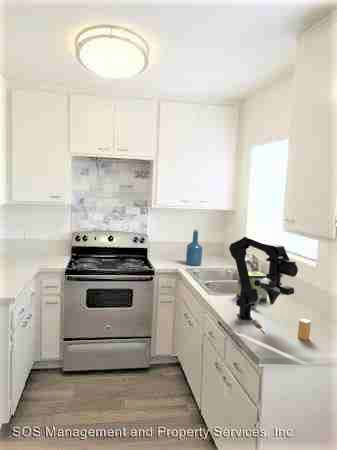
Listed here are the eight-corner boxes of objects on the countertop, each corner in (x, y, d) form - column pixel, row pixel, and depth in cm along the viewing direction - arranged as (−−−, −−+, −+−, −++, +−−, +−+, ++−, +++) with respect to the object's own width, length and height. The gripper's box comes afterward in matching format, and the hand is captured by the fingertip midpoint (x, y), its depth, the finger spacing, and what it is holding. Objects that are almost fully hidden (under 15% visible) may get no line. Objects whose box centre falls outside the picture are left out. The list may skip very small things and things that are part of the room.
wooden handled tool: (251, 324, 177) (252, 319, 176) (256, 324, 177) (257, 319, 177) (261, 336, 163) (262, 331, 162) (266, 336, 163) (267, 331, 163)
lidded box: (297, 337, 161) (298, 319, 160) (301, 335, 163) (303, 318, 162) (304, 340, 158) (306, 322, 157) (309, 338, 160) (311, 321, 159)
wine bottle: (204, 265, 310) (206, 230, 307) (195, 267, 300) (198, 231, 297) (191, 262, 318) (193, 228, 315) (182, 264, 308) (184, 229, 305)
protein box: (236, 296, 224) (238, 271, 222) (258, 295, 228) (260, 271, 226) (244, 301, 214) (246, 275, 212) (267, 300, 218) (269, 275, 216)
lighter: (247, 307, 203) (248, 293, 202) (248, 306, 204) (249, 292, 204) (259, 310, 199) (260, 296, 198) (260, 309, 200) (261, 295, 200)
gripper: (248, 269, 172) (245, 301, 174) (282, 278, 158) (279, 313, 159) (262, 267, 179) (259, 297, 181) (296, 275, 165) (293, 309, 166)
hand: (271, 304), depth 172 cm, fingers closed
